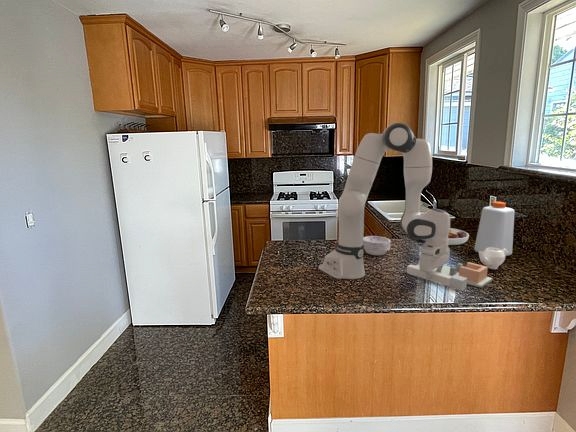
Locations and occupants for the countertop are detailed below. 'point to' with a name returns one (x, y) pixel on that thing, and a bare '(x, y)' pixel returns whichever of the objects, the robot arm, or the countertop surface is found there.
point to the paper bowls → (376, 245)
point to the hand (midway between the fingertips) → (433, 276)
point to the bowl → (456, 237)
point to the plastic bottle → (496, 228)
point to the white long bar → (440, 278)
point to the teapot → (492, 257)
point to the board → (468, 273)
